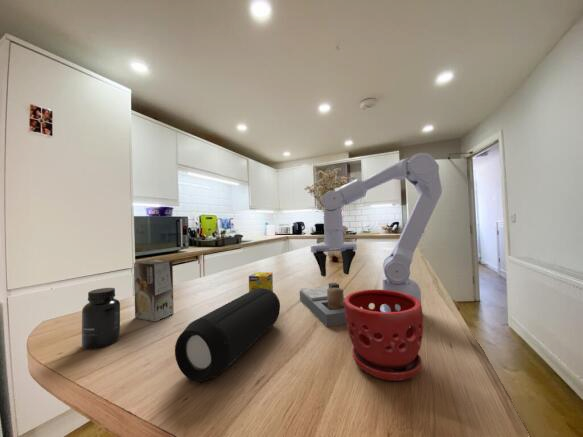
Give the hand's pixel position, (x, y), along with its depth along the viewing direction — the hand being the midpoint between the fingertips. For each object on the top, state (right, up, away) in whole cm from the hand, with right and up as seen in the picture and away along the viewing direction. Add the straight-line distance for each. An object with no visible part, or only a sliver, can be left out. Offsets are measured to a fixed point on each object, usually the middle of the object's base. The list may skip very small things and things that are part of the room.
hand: (334, 274), depth 71 cm
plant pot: (+3, -9, -29) cm, 31 cm away
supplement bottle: (-57, -11, -18) cm, 61 cm away
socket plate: (-3, -10, -1) cm, 10 cm away
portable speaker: (-25, -11, -22) cm, 34 cm away
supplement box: (-22, -11, 0) cm, 25 cm away
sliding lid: (-4, -7, +4) cm, 9 cm away
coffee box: (-54, -12, -3) cm, 55 cm away
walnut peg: (-1, -10, -7) cm, 12 cm away
